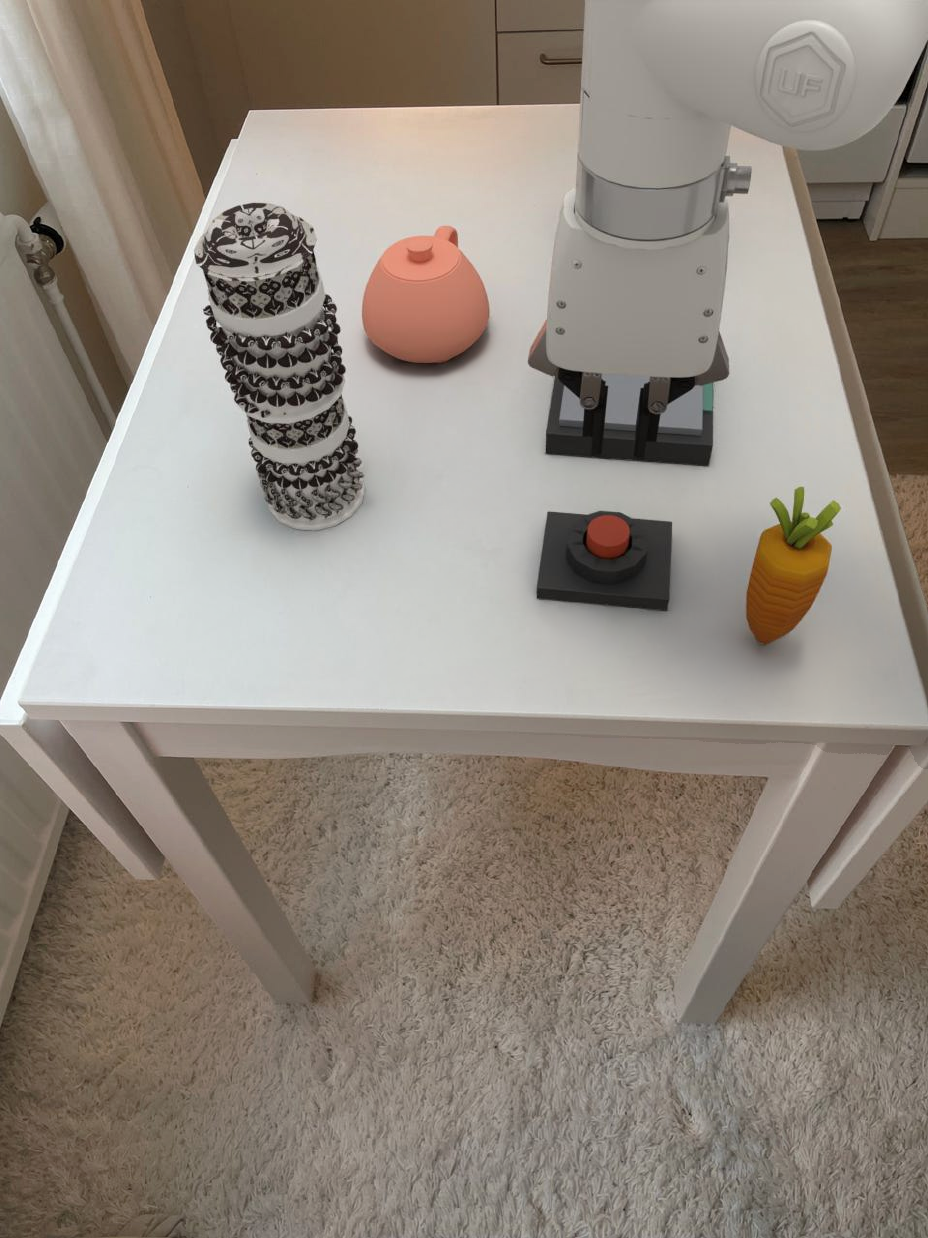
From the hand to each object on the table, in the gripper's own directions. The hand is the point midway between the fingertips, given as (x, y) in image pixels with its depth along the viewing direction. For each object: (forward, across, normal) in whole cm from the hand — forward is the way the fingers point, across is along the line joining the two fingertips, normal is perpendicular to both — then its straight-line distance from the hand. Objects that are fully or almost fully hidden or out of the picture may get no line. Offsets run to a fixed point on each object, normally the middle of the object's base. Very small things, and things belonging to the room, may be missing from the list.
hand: (618, 441), depth 65 cm
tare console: (+13, 0, 0) cm, 13 cm away
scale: (+13, -1, -19) cm, 23 cm away
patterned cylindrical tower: (+13, +25, -5) cm, 29 cm away
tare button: (+11, 0, 0) cm, 11 cm away
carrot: (+13, -12, +6) cm, 19 cm away
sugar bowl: (+13, +19, -28) cm, 36 cm away
